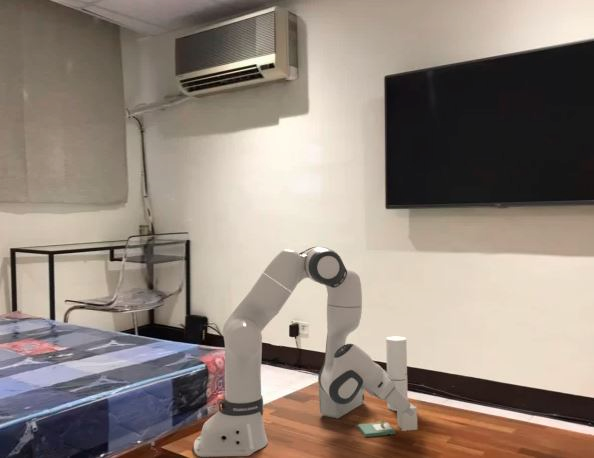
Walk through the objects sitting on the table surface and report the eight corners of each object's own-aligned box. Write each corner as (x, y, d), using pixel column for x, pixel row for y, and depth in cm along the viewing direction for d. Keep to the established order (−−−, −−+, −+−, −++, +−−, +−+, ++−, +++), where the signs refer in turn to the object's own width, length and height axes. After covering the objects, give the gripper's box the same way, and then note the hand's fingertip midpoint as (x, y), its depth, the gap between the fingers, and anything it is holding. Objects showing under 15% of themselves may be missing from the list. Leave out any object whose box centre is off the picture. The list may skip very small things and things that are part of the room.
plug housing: (402, 431, 175) (402, 406, 175) (397, 425, 180) (396, 401, 179) (417, 429, 176) (416, 404, 176) (411, 424, 180) (411, 400, 180)
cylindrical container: (410, 406, 198) (409, 337, 198) (403, 412, 192) (401, 341, 192) (392, 403, 202) (390, 335, 202) (384, 408, 196) (382, 339, 196)
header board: (365, 436, 171) (365, 426, 171) (357, 427, 179) (357, 417, 179) (395, 433, 173) (395, 423, 173) (387, 424, 181) (386, 414, 181)
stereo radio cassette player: (348, 399, 207) (347, 347, 207) (367, 403, 202) (366, 349, 202) (318, 416, 190) (316, 359, 190) (338, 421, 185) (337, 362, 185)
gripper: (360, 380, 185) (389, 406, 187) (380, 399, 165) (412, 427, 167) (372, 366, 186) (400, 392, 188) (394, 383, 166) (425, 412, 168)
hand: (406, 409), depth 178 cm, fingers open, 8 cm apart
